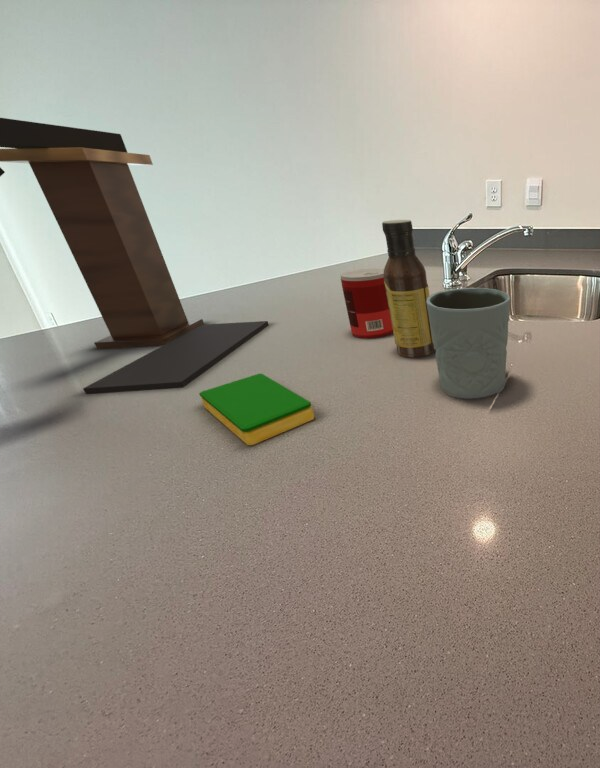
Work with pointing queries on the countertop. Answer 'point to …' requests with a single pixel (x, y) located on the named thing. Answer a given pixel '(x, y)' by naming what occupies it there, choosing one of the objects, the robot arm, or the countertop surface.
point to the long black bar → (55, 136)
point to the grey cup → (470, 340)
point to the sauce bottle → (406, 291)
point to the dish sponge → (257, 408)
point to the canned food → (367, 303)
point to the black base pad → (179, 359)
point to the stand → (110, 241)
